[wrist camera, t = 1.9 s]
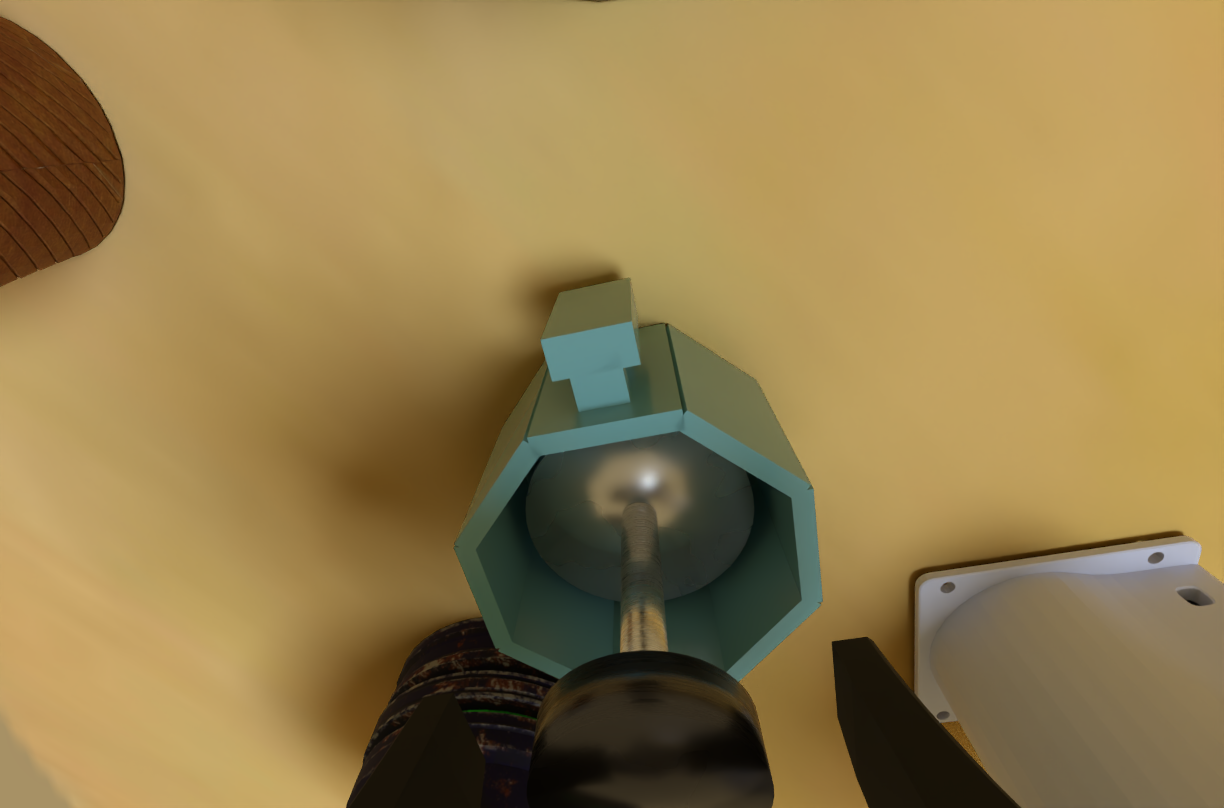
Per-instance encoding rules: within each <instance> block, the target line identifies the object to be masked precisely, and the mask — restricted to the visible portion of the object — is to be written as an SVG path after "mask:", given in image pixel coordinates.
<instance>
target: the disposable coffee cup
mask: <svg viewBox="0 0 1224 808" xmlns="http://www.w3.org/2000/svg"><path fill="white" fill-rule="evenodd" d="M121 160H122V159H121V156H120V154H119V151H118V148H117V145H116V142H115V139H114V136H113V134H112V131H111V128H110V125H109V123H108V122H107V120H106V118H105V116H104V114H103V112H102V110H101V108H100V106H99V104H98V103H97V101H96V100H95V99H94V97H93V96H92V94H91V93H90V92H89V90H88V89H87V87H86V86H85V85H84V83H83V82H82V80H81V79H80V78H79V77H78V76H77V75H76V74H75V73H74V72H73V71H72V70H71V68H70V67H69V66H68V65H67V64H66V63H65V62H64V61H63V60H62V59H61V58H60V57H59V56H58V55H57V54H56V53H55V52H54V51H53V50H51V49H50V48H49V47H48V46H46V45H45V44H44V43H43V42H42V41H40V40H39V39H38V38H37V37H35V36H34V35H32V34H31V33H29V32H27V31H26V30H24V29H22V28H21V27H19V26H17V25H16V24H14V23H12V22H11V21H9V20H7V19H4V18H2V17H0V287H1V286H3V285H5V284H7V283H9V282H11V281H14V280H16V279H17V276H18V277H20V278H23V277H25V276H27V275H29V274H31V273H33V272H36V271H37V269H39V270H42V269H44V268H47V267H49V266H51V265H53V264H55V262H57V263H59V262H62V261H64V260H66V259H69V258H71V257H74V256H78V255H81V254H83V253H85V252H87V251H89V250H90V249H92V248H94V247H96V246H97V245H98V244H99V243H100V242H101V241H102V240H103V239H104V238H105V237H106V236H107V235H108V234H109V233H110V231H111V230H112V228H113V226H114V224H115V222H116V220H117V218H118V216H119V214H120V210H121V206H122V202H123V184H124V178H123V169H122V161H121Z"/></svg>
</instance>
